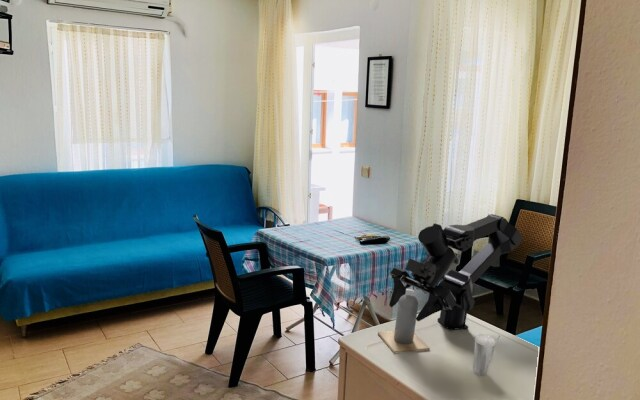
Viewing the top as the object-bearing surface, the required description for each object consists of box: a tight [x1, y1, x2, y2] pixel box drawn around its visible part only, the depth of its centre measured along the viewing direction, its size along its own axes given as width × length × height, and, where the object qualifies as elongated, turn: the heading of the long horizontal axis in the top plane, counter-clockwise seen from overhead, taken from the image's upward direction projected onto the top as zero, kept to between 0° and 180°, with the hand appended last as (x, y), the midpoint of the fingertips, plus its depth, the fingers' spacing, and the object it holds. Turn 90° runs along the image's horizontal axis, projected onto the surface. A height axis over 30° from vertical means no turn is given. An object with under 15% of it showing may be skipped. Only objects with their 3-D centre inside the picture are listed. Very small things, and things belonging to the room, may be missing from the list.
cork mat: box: [377, 330, 431, 354], centre depth 131 cm, size 10×10×1 cm
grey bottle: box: [394, 288, 419, 344], centre depth 129 cm, size 5×5×14 cm
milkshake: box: [472, 334, 501, 376], centre depth 118 cm, size 4×5×10 cm
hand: (403, 313), depth 128 cm, fingers open, 9 cm apart
